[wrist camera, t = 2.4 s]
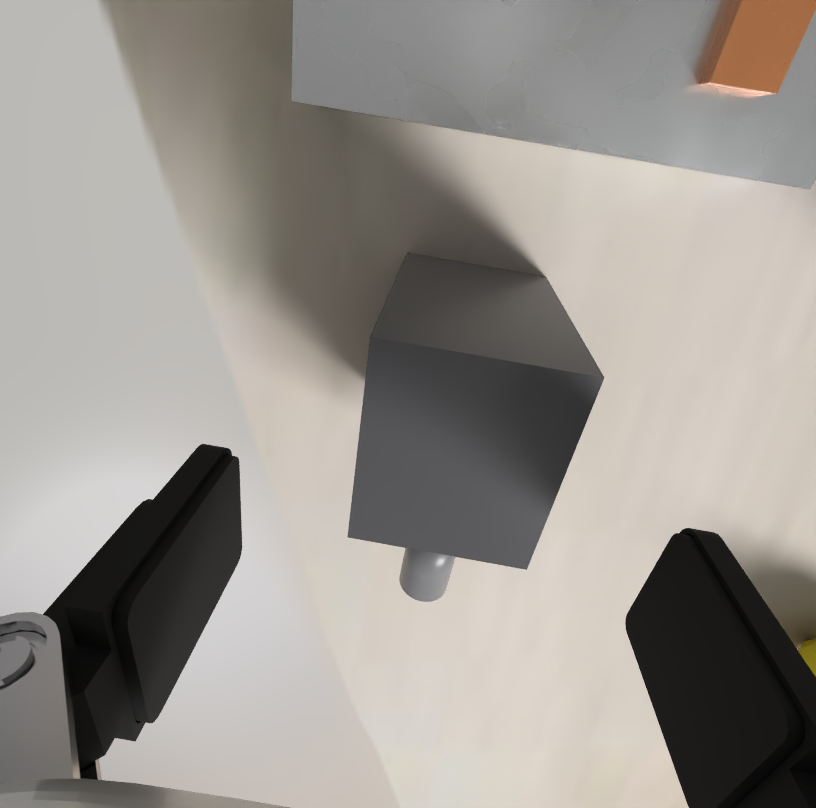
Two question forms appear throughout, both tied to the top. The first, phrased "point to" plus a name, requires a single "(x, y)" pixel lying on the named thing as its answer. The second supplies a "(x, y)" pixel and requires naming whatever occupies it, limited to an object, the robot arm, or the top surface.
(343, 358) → the top surface
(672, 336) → the top surface
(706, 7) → the socket plate
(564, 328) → the plug
